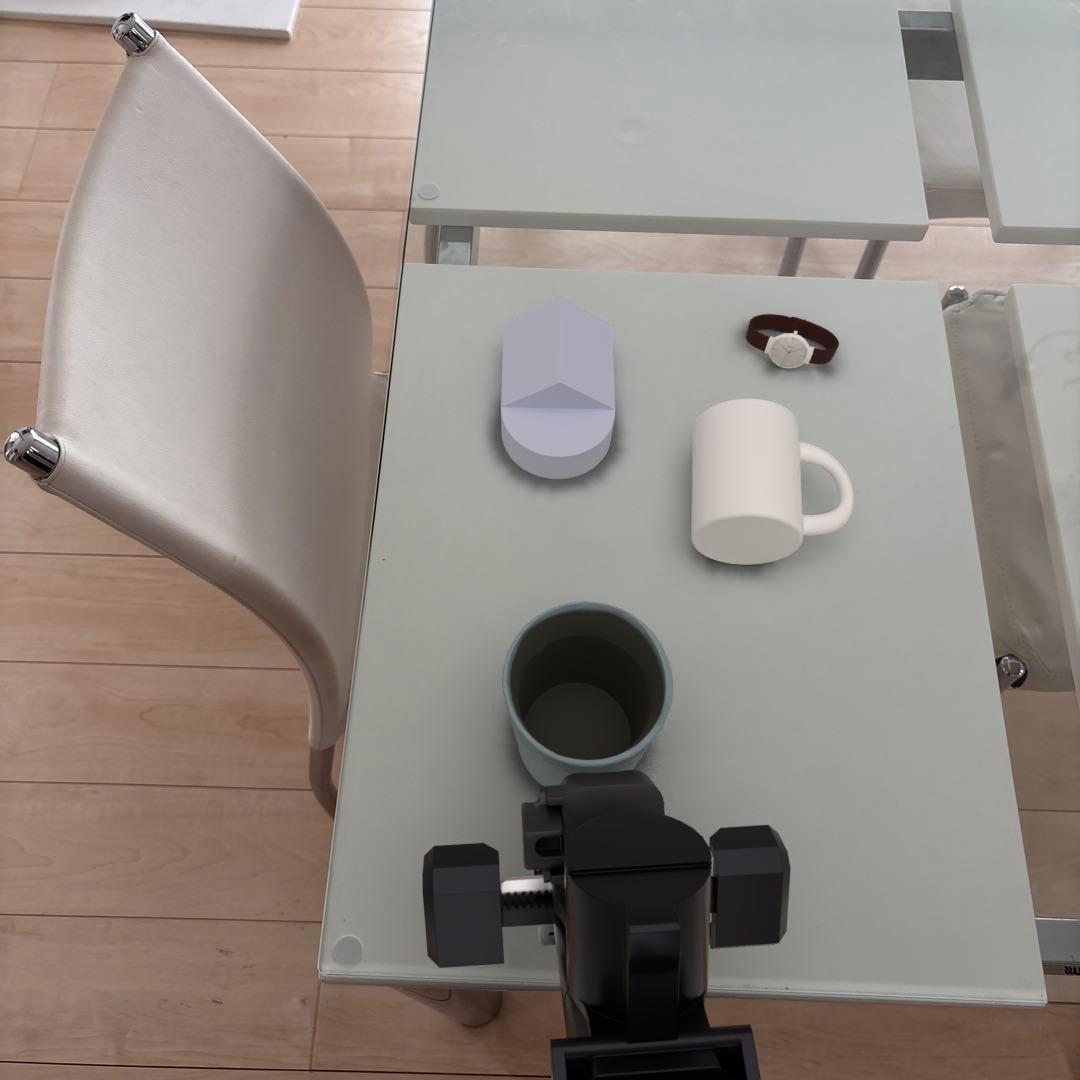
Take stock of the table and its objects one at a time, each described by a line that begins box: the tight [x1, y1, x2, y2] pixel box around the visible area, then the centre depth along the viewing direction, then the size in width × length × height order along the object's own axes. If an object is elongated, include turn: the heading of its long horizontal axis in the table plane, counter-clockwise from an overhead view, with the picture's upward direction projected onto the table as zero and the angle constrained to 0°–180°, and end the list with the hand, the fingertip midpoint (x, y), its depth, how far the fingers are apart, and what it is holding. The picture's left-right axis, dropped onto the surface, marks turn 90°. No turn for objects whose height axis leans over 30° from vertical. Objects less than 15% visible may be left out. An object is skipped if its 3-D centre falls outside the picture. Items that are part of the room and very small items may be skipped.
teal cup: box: [501, 600, 674, 786], centre depth 61 cm, size 10×10×12 cm
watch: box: [745, 313, 840, 369], centre depth 81 cm, size 8×5×4 cm, turn 73°
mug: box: [690, 398, 855, 566], centre depth 72 cm, size 12×10×8 cm
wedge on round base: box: [500, 295, 616, 480], centre depth 76 cm, size 9×7×13 cm
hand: (587, 805), depth 58 cm, fingers closed
